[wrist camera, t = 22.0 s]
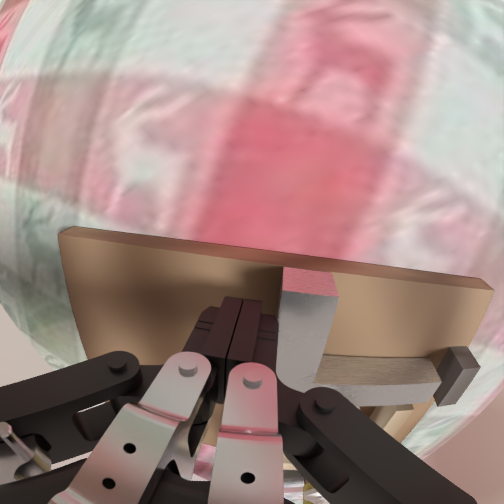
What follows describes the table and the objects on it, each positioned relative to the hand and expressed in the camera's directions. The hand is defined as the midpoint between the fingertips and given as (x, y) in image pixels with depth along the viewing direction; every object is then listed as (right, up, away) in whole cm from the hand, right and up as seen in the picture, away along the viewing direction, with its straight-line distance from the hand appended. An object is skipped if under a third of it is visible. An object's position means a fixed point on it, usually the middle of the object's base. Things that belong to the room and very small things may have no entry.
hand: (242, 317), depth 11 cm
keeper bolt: (+6, -1, +1) cm, 6 cm away
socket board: (+1, -5, +5) cm, 7 cm away
